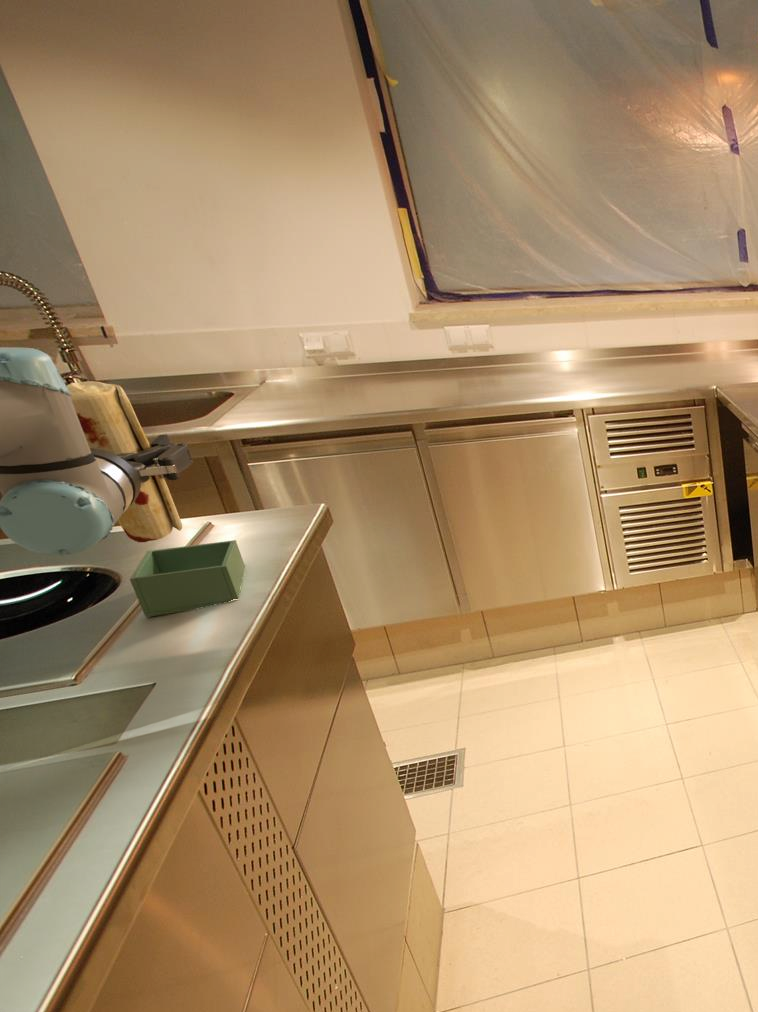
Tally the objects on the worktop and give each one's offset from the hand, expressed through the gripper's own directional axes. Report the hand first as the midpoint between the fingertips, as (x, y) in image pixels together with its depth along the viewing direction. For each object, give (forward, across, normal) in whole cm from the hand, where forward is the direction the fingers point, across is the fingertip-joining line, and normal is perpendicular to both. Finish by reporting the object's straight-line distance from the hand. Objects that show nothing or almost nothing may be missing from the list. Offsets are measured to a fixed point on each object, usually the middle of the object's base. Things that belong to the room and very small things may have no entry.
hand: (130, 447), depth 111 cm
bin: (+2, +1, -22) cm, 22 cm away
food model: (-5, 0, -11) cm, 12 cm away
